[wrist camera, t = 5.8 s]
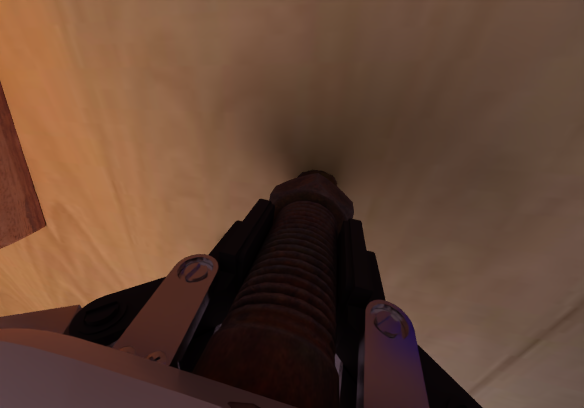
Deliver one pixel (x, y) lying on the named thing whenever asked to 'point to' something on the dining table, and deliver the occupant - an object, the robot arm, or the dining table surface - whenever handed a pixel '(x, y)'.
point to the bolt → (287, 303)
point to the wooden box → (15, 185)
